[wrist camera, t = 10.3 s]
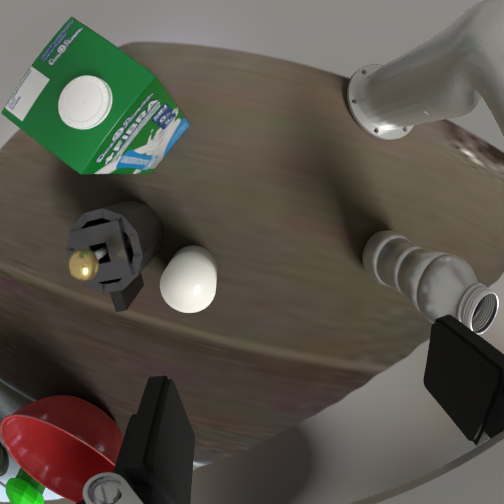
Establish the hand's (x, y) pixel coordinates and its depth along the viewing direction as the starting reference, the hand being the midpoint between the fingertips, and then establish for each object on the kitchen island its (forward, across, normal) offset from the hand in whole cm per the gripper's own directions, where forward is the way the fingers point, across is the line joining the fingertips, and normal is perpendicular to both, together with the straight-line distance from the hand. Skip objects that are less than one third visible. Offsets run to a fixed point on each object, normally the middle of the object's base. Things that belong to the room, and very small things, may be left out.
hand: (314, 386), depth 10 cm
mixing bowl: (+36, +41, +35) cm, 64 cm away
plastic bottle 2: (+36, -20, +8) cm, 42 cm away
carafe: (+36, +17, 0) cm, 40 cm away
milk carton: (+36, +12, -16) cm, 41 cm away
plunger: (+33, +17, -1) cm, 37 cm away
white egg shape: (+36, +9, +6) cm, 37 cm away
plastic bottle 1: (+35, +62, +49) cm, 87 cm away
